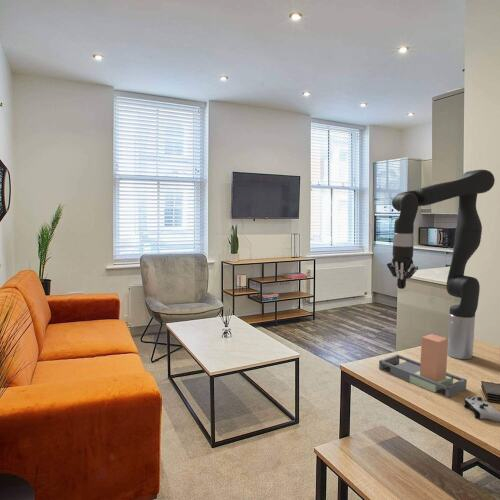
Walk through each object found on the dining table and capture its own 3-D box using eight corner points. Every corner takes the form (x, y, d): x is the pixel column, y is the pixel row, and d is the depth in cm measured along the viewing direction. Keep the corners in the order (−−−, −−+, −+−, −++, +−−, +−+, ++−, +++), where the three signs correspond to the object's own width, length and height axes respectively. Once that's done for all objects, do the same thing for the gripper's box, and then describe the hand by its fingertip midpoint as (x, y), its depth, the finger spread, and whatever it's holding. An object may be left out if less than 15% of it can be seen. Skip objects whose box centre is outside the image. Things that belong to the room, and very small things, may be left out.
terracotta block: (429, 371, 142) (431, 333, 141) (445, 377, 137) (448, 338, 136) (419, 375, 139) (421, 337, 137) (436, 382, 134) (438, 342, 132)
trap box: (397, 362, 156) (397, 354, 156) (466, 388, 134) (466, 379, 134) (378, 369, 150) (379, 360, 150) (448, 397, 128) (448, 388, 128)
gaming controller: (508, 420, 113) (492, 403, 113) (491, 434, 114) (475, 418, 114) (486, 400, 125) (471, 385, 124) (470, 413, 125) (455, 398, 125)
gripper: (424, 245, 151) (422, 290, 153) (394, 242, 162) (392, 284, 164) (412, 246, 147) (410, 292, 149) (382, 243, 158) (381, 286, 160)
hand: (401, 288), depth 157 cm, fingers closed
